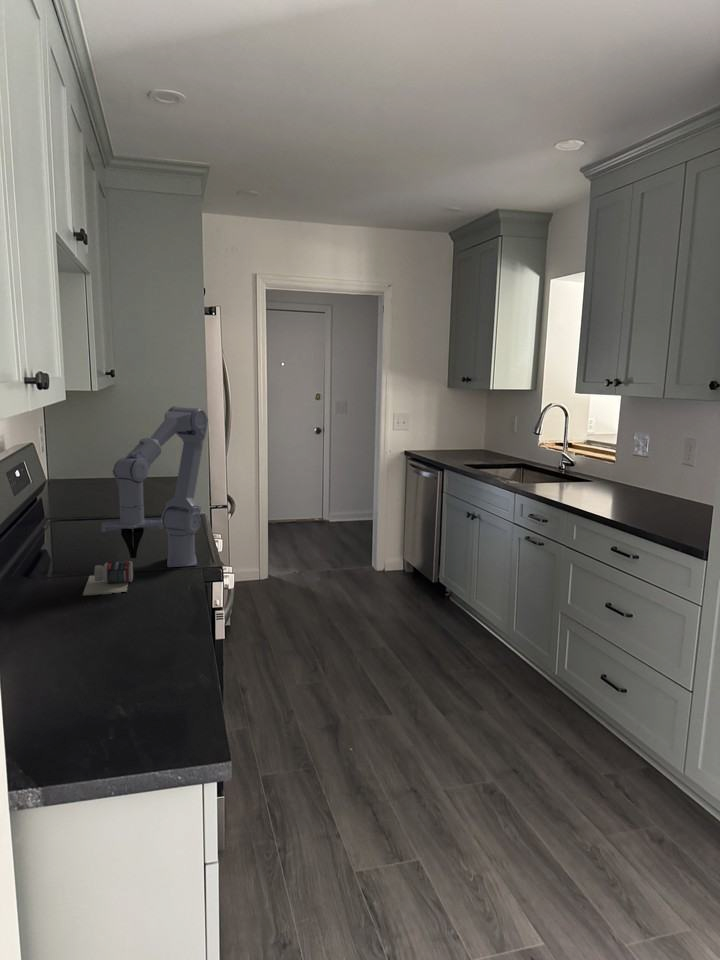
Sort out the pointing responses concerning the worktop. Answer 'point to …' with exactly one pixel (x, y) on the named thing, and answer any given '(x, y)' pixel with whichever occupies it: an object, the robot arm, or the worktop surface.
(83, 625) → the worktop surface
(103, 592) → the mat
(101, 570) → the pill bottle
